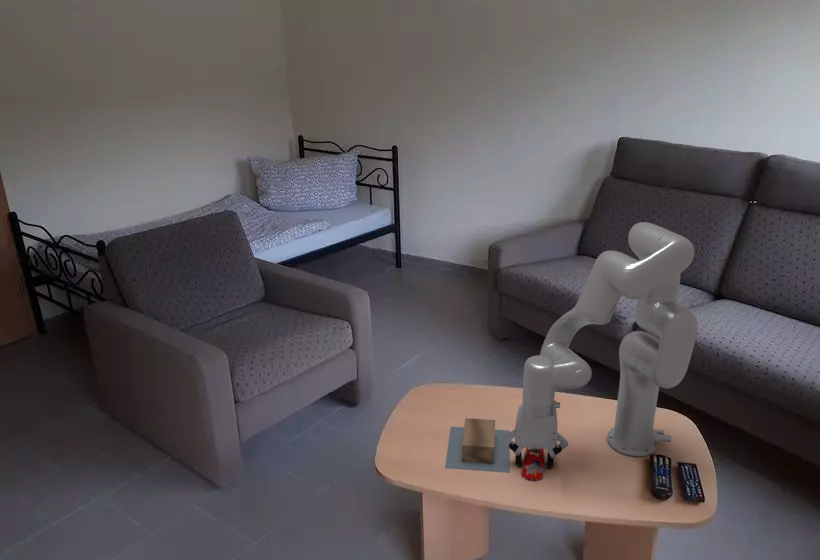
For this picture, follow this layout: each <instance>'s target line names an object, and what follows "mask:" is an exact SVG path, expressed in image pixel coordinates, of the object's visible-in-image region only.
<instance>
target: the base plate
mask: <svg viewBox="0 0 820 560" xmlns="http://www.w3.org/2000/svg"><path fill="white" fill-rule="evenodd" d="M510 432H511V431H510V429H509V430H506V429H495V444H494V464H487V463H473V462H462V442H463V433H464V426H462V427H460V426H450V431H449V435H448V436H449V437H448V444H447V451H446V452H447V453H446V459H445V465H444V469H454V470H466V471H479V472H493V473H506V474H507V473H508V474H510V473H511V464H510V463H511V449H510V448H509V446H508V445H507V444H506V443H505V442H504V441H503V437H504V436H505V435H507V434H508V433H510Z"/></svg>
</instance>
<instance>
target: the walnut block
mask: <svg viewBox="0 0 820 560" xmlns="http://www.w3.org/2000/svg"><path fill="white" fill-rule="evenodd" d="M463 427H464V433H463V442H462V462H473V463H487V464H494V444H495V430H496V419H486V418H485V419H483V418H469V417H468V418H467V417H465V418H464V426H463Z"/></svg>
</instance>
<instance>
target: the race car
mask: <svg viewBox="0 0 820 560" xmlns="http://www.w3.org/2000/svg"><path fill="white" fill-rule="evenodd" d="M544 463H545V450H544V449H539V448H526V449H525V451H524V456H523V461H521V464H522V467H521V478H522V479H524V480H526V481H528V482H540V481H542V480H543V475H544V467H545V464H544Z"/></svg>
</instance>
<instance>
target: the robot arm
mask: <svg viewBox="0 0 820 560" xmlns="http://www.w3.org/2000/svg"><path fill="white" fill-rule="evenodd" d="M627 238H628V240H627V241H628V246H629V248H630V250H631V251H632V252H633V254H635V256H637V258H638V259H636V258H634V257H633V256H630V255H628V254H625V253H623V252H620V251H617V250H606V251H604V252H603V251H602V252H601V253H600V254H599V256H597V258H596V260H595V261H594V264H593V266H592V268H591V271H590V273H589V275H588V278H587V280H586V282H585V284H584V286H583V289H582V291H581V293H580V295H579V297H578V300H577V302H576V304H575V306H574V307H573V308H572V309H570V310H568V311H567V312H566V313H564V314H563V315H561V317H560V318H558V319H557V320H556V321H555V322H554V323H553V324H552V325H551V327H550V328H549V330H548V332H547V334H546V336H545V339H544V341H543V342H542V343H543V344H542V346H541V350H540V354H539V355H532V356H530V357H528V358H526V360H525V363H524V366H523V383H522V399H521V400H522V401H521V404H520V405H518V406H519V407H518V410H517V412H516V418H515V426H514V427H515V428H514V429H513V430H511V431H510V433H508V434H507V435H505V436H504V437H503V441H504V442H505V443H506V444H507V445H508V446H509V448H510V451H512V452H513V453H514V455H515V458H514V459H515V460H514V461H515V465H517V468H519V469H520V468H522V456H523V455H522V451H523V450H524V448H539V449H545V450H547V454H546V455H547V458H546V465H547V466H546V467H547V468H546V469H547V470H548V471H550V470H551V467H554V460H555V458H556V456H557V455H559V454H560V453H561V452H562V451H563V450H564V449H566V448H567V447H569V441H568V440H567V439H566V438H565V437H564V436H563V435H562V434H561V433H559V432H558V414H557V413H558V412H557V409H560V408H561V402H558V401H556V400H555V398H556V390H567V389H568V390H573V389H579V388H582V387H584V386H586V385H587V384H588V383H589V382H590V381H591V378H592V375H593V374H592V368H591V367H590V365H589V363H587V362H586V360H584V359H582V357H580V356H579V355H578V354H577V353H575V352H574V351H573V350H572V349H570V348H569V347H570V344H571V342H572V340H573V338H574V336H575V335H576V334H577V332H578V331H579V330H580V329H582V328H583V327H586V326H588V325H607V324H608V323H610V321H611V320H612V317H613V315H614V313H615V310H616V308H617V306H618V304H619V302H620V301H621V297H622V296H623V297H625V298H626V299H628V300H629V299H630V300H637V301H636V304H635V309H634V317H633V318H634V321H635V322H636V324H637V325H638V326H639V328H641V329H643V330H644V331H643V330H642V331H641V330H636V331H631V332H629V333H627V334H626V335H625V336H624V337H623V338H622V340H621V342H620V345H619V351H618V357H619V366H620V367H619V369H620V371H619V372H620V376H619V377H620V378H619V386H618V387H619V388H618V392H617V393H618V394H617V402H616V410H615V411H616V412H615V420H614V427H612V428H611V429H609V431H607V435H606V441H607V443H608V445H609V446H610V447H611V448H612V449H613V450H615V451H617V452H619V453H621V454H622V455H626V456H632V457H646V456H649V454H650V455H651V453H652V454H654V453H655V451H656V450H657V446H658V443H659V442H664V443H671V442H672V435H671V434H667V433H665V430H664V429H655V428H654V423H655V418H656V410H657V404H658V403H657V402H658V398H659V397H658V396H659V391H660V388H663V389H672V388H674V387H676V386H678V385H679V384H680V383H681V382H682V380H683V379H684V378H685V375H686V373H687V371H688V368H689V366H690V365H689V364H690V361H691V358H692V354H693V350H694V346H695V343H696V340H697V335H698V331H699V325H698V319H697V318H696V315H695V313H693V311H691V310H690V309H688V308H687V307H685V306H683V305H682V304H679V303H678V300H677V299H678V298H677V297H678V293H679V288H680V283H681V273H683V272H684V271H685V270H686V269H687V268H689V266H690V265H691V263H692V262H693V260H694V256H695V248H694V245H693V243H692V242H691V241H690V240H689V239H688V238H686V237H685V236H683V235H680V234H678V233H676V232H673V231H671V230H669V229H666V228H665V227H662V226H659V225H658V224H655V223H652V222H645V221H642V222H637V223H635V224H634V225H633V226H632V227H631V228H630V229H629V232H628V237H627ZM513 439H514V441H515V442H514V441H513ZM558 442H559V444H558Z"/></svg>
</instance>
